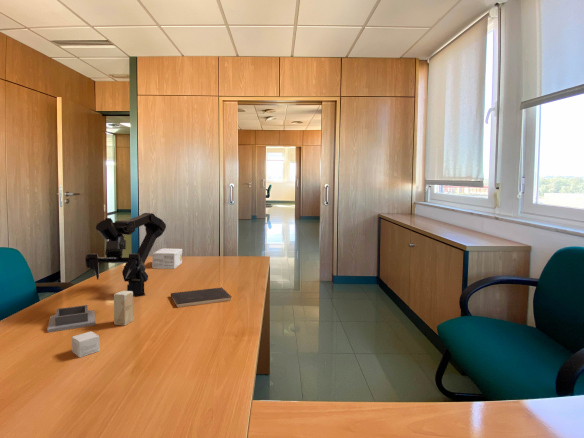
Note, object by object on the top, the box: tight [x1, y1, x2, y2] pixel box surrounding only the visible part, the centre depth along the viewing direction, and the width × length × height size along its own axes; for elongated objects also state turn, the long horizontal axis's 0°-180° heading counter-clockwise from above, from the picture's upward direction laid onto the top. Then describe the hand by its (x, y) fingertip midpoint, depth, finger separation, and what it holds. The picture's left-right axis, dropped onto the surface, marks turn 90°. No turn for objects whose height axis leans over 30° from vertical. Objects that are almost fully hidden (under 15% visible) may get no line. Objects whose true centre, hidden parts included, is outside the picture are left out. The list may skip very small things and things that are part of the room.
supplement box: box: [151, 248, 183, 270], centre depth 219 cm, size 17×13×9 cm
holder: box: [46, 304, 96, 334], centre depth 129 cm, size 14×14×4 cm
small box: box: [71, 331, 100, 358], centre depth 107 cm, size 6×6×5 cm
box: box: [113, 290, 134, 326], centre depth 129 cm, size 5×4×11 cm
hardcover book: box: [170, 287, 233, 308], centre depth 158 cm, size 16×23×2 cm
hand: (111, 278), depth 135 cm, fingers open, 9 cm apart
